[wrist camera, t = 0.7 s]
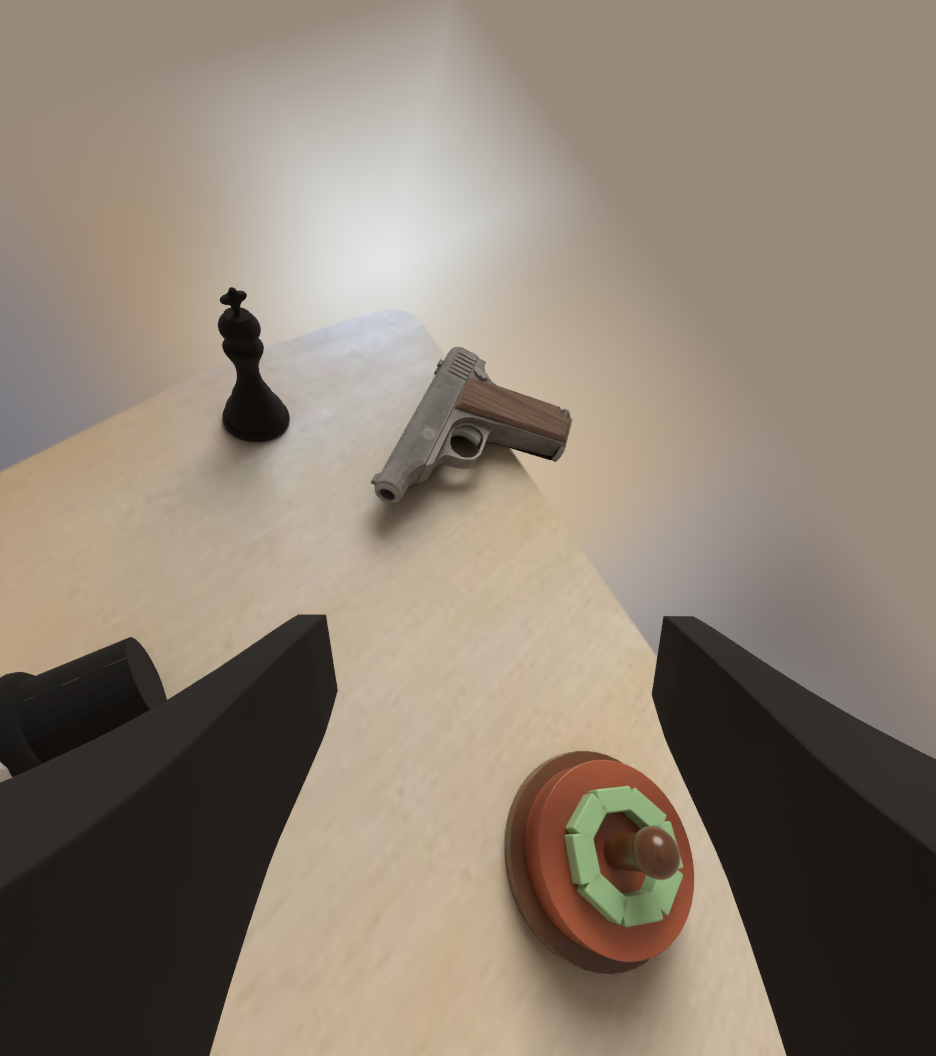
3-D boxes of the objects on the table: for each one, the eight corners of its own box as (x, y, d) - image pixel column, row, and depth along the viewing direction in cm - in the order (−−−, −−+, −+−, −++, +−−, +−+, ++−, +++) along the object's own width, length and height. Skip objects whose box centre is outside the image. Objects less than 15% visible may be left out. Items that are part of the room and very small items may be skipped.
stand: (696, 950, 23) (817, 985, 17) (520, 988, 21) (591, 1043, 15) (641, 747, 28) (721, 722, 22) (493, 760, 26) (538, 736, 20)
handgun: (521, 574, 34) (364, 499, 32) (560, 428, 43) (440, 364, 41) (542, 554, 31) (373, 472, 29) (579, 404, 40) (452, 335, 39)
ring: (683, 911, 21) (697, 914, 20) (580, 931, 20) (590, 935, 19) (649, 784, 24) (660, 782, 23) (556, 794, 23) (564, 793, 22)
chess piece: (209, 414, 34) (169, 277, 26) (264, 389, 36) (242, 257, 28) (249, 452, 33) (219, 322, 25) (302, 424, 35) (291, 297, 27)
